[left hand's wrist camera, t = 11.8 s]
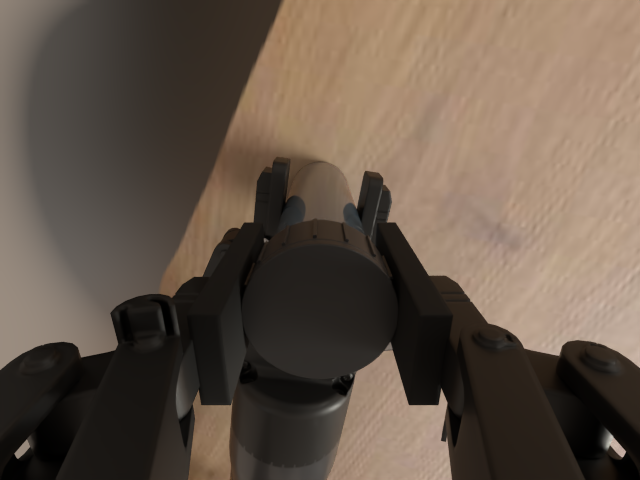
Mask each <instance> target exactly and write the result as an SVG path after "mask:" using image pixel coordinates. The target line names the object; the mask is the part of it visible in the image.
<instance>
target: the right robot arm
mask: <svg viewBox="0 0 640 480" xmlns="http://www.w3.org/2000/svg"><path fill="white" fill-rule="evenodd" d="M289 169H290V159H288V158H281V157H276V159H275V160H274V162H273V167H272V168H271V167H266V168H265V169H264V170H263V171H262V173H261V175H260V177H259V179H258V181H257V190H256V202H255V213H254V223H263V230H264V243H265V242H266V241H267V242H268V241H269V240H270V239H271V238H272V237H274V236H275V233H276V230H277V227H278V224H279V221H280V218H281V215H282V212H283V209H284V206H285V202H286V194H287V185H288V177H289ZM391 203H392V200H391V194H390V191H389V189H388V188H387V187H386V186H385V185H383V178H382V176H381V175H380V174H379V173H376V172H370V171H365V173H364V176H363V181H362V186H361V191H360V196H359V201H358V206H357V212H358V215H359V218H360V221H361V224H362V227H363V230H364V233H365V236H367V235H368V236H369V237H370V239H371V242H372V243H373V244H374V245H375V242H376V227H377V223H387V219H388V216H389V212H390V207H391ZM239 230H240V229H238V228H231V229H229V230H228V231H227V232H226V234H225V235H224V237H223V239H222V241H221V242H220V243H219V244H218V245H217V246H216V248H215V249H214V252H213V254H212V256H211V258H210V261H209V263H208V265H207V268H206V270H205V272H204V275H203V277H211V275H212V273H213V272H214V270H215V269H216V267H217V265H218V264H219V262H220V261H221V259H222V257H223V256H224V254H225V253H226V251H227V249H228V248H229V246H230V245H231V243H232V241H233V240H234V238H235V237H236V235H237V233H238V232H239ZM388 350H393V349H392V345H391V342H390V343H389V345H388V346H387V348H386V349H385V350H384V351H388ZM356 372H357V371H355V372H353V373H350V374H347V375H344V376H340V377H334V378H324V379H316V378H306V377H300V376H296V375H293V374H290V373H287V372H285V371H282V370H280V369H278V368H276V367H275V366H273V365H272V364H270V363H269V362H267V361H266V360H265V359H264V358H263V357H261V356H260V355H259V354H258V352H257V351H256V350H255V349H254V348H253V346H252V345H251V343H250V342H249V345H248V348H247V352H246V355H245V358H244V362H243V365H242V369H241V372H240V375H239V379H238V382H237V386H236V389H235V392H234V396H233V403H232V415H231V428H230V441H229V449H230V461H231V473H230V480H327V478H328V476H329V473H330V471H331V469H332V466H333V464H334V461H335V457H336V453H337V449H338V445H339V441H340V437H341V433H342V429H343V425H344V420H345V416H346V412H347V408H348V404H349V400H350V396H351V392H352V388H353V384H354V379H355V375H356Z"/></svg>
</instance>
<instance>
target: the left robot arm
mask: <svg viewBox="0 0 640 480" xmlns="http://www.w3.org/2000/svg"><path fill="white" fill-rule="evenodd" d="M263 245H264V230H263V223H244V224H243V225H242V227H241V229H240V230H239V232H238V233H237V235H236V237H235V238H234V240H233V241H232V243H231V245H230V246H229V248H228V249H227V251H226V253H225V254H224V256H223V257H222V259H221V261H220V262H219V264H218V265H217V267H216V269H215V270H214V272H213V273H212V275H211V277H193V278H192V279H190V280H189V281H187V282H186V283H184V284H182V286H181V287H180V288H179V290H178V291H177V292H176V295H174V296H173V298H171V297H169V296H166V295H162V294H149V295H143V296H138V297H135V298H132V299H130V300H127V301H125V302H123V303H122V304H120V305H118V306H117V307H116V308H115V309H114V310H113V311H112V312H111V317H112V321H113V325H114V329H115V333H116V336H117V340H118V346H117V348H116V350H115V351H111V352H107V353H102V354H97V355H92V356H87V357H82V358H81V356H80V353H79V350H78V347H76V346H75V345H74V344H73V343H67V342H57V343H49V344H45V345H43V346H42V345H41V346H38V347H35V348H33V349H32V350H30V351H27V352H25V353H23V354H21V355H20V356H18V357H17V358H15V359H14V360H12V361H11V362H10V363H8V364H7V365H6V366H5V367H4V368H2V369H1V370H0V480H188V475H189V466H190V457H191V448H192V440H193V431H194V422H195V416H194V409H193V401H194V399H195V397H196V394H197V392H198V389H199V394H200V400H201V405H231V403H232V399H233V396H234V392H235V389H236V386H237V382H238V379H239V375H240V372H241V369H242V365H243V362H244V358H245V355H246V352H247V348H248V345H249V340H248V338H247V336H246V334H245V331H244V328H243V323H242V313H241V303H242V297H243V294H244V290H245V288H244V287H243V286H244V283H245V281H246V279H247V276H248V274H249V271H250V269H251V267H252V264H253V263H256V260H257V258H258V256H259V254H260V252H261V250H262V248H263ZM375 246H376V248H377V249H378V251H379V252H380V254H381V256H383V255H384V257H385V259H386V261H387V264H388V266H389V269H390V271H391V273H392V276H393V278H394V279H392V280H391V281H392V283H393V286H394V288H395V291H396V294H397V298H398V304H399V311H398V321H397V328H396V331H395V334H394V336H393V338H392V340H391V345H392V349H393V352H394V356H395V359H396V363H397V366H398V369H399V373H400V376H401V380H402V383H403V386H404V390H405V393H406V397H407V400H408V403H409V405H438V404H439V398H440V392H441V388H442V391H443V393H444V395H445V398H446V400H447V402H448V404H447V409H446V415H445V421H444V426H443V432H442V438H441V441H445V442H446V438H447V439H448V448H449V456H450V465H451V474H452V480H640V368H639V367H638V366H637V365H635V364H634V363H633V362H632V361H630V360H629V359H628V358H626V357H625V356H623V355H622V354H620V353H619V352H617V351H615V350H612V349H610V348H608V347H606V346H604V345H601V344H596V343H594V342H589V341H579V340H576V341H569V342H567V343H565V344H564V345H563V346H562V349H561V352H560V355H559V356H556V355H551V354H546V353H541V352H536V351H531V350H528V349H524V348H523V345H522V343H521V342H520V341H519V340H518V338H517V337H516V336H515V335H513V334H512V333H510V332H509V331H508V330H506V329H503V328H501V327H499V326H496V325H492V324H488V323H487V321H486V320H485V319H484V317H483V316H482V315H481V314H480V312H479V311H478V310H477V308H476V307H475V306H474V304H473V303H472V302H470V299H469V298H468V296H467V295H466V294H464V291H463V290H462V288H461V287H460V286H459V285H458V283H456V282H455V281H453V280H451V279H450V278H448V277H447V276H429V275H428V274H427V272H426V271H425V269H424V267H423V266H422V264H421V263H420V261H419V259H418V258H417V256H416V255H415V253H414V251H413V250H412V248H411V247H410V245H409V243H408V242H407V240H406V239H405V237H404V235H403V234H402V232H401V231H400V229H399V227H398V226H397V224H396V223H377V227H376V242H375ZM613 437H614V438H615V439H616V440H617V442H618V443H619V444H620V445H621V446H622V447H623V448H624V450H625V451H626V453H625V455H624V457H623V458H622V457H621V456H619V455H618V454H617V453H616V452H615V451H614V449H613V448H612V447H611V446H610V444H611V442H612V439H613ZM26 439H27V440H28V442H29V445H30V448H29V449H28V450H27V451H26V452H25V454H24V455H22V456H21V457H20V458H19V459H17V458H16V456H15V454H14V453H15V452H16V451H17V450H18V449H19V447H20V446H21V445H22V444H23V443H24V442H25V441H26Z"/></svg>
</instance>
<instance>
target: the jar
mask: <svg viewBox="0 0 640 480" xmlns="http://www.w3.org/2000/svg"><path fill="white" fill-rule="evenodd" d="M315 218H317V220H330V221H335V222H340V223H342V222H345V223H346V225H348V226H351V227H353V228H355V229H356V230H358V231H360V232H361V233H363V234H364V235H365V233H364V230H363V227H362V224H361V221H360V218H359V215H358V212H357V209H356V206H355V203H354V200H353V197H352V194H351V192H350V189H349V186H348V183H347V180H346V178H345V176H344V174H343V173H342V172H341V170H339V169H338V168H337V167H336V166H334V165H332V164H329V163H326V162H314V163H311V164H308V165H306V166H304V167H303V168H302V169H301V170H300V171H299V172H298V173H297V174H296V176H295V178H294V180H293V183H292V186H291V189H290V192H289V195H288V197H287V200H286V203H285V206H284V209H283V212H282V215H281V218H280V221H279V224H278V227H277V230H276V233H275V235H276V234H277V233H279V232H280V231H282V230H283V229H285V228H286V226H287V225H289V226H292V225H294V224H297V223H300V222H305V221H310V220H314V219H315Z"/></svg>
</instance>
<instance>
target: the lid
mask: <svg viewBox="0 0 640 480" xmlns="http://www.w3.org/2000/svg"><path fill="white" fill-rule="evenodd" d="M392 279H394V278H393V276H392V273H391V271H390V269H389V266H388V264H387V261H386V259H385V257H384V255H383V256H381V254H380V252H379V251H378V249H377V248H376V246H375V245H374V244H373V243H372V242H371V239H370V237H369V236H368V235H367V236H365V235H364V234H363V233H361V232H360V231H358V230H356V229H355V228H353V227H351V226H348V225H346V223H345V222H342V223H340V222H335V221H330V220H317V218H315V219H314V220H310V221H305V222H300V223H297V224H294V225H292V226H289V225H287V226H286V228H285V229H283V230H282V231H280V232H279V233H277V234H276V235H275V236H274V237H272V238H271V239H270V240H269V241H268V242H267V241H266V242H265V243H264V245H263V248H262V250H261V252H260V254H259V256H258V258H257V260H256V263H253V264H252V267H251V269H250V271H249V274H248V276H247V279H246V281H245V283H244V286H243V287H244V288H245V290H244V294H243V297H242V303H241V313H242V323H243V328H244V331H245V334H246V336H247V338H248V340H249V342H250V343H251V345H252V346H253V348H254V349H255V350H256V351H257V352H258V354H259V355H260V356H261V357H263V358H264V359H265V360H266V361H267V362H269V363H270V364H272V365H273V366H275V367H276V368H278V369H280V370H282V371H285V372H287V373H290V374H293V375H296V376H300V377H306V378H316V379H324V378H334V377H340V376H344V375H347V374H350V373H353V372H355V371H358V370H360V369H362V368H364V367H365V366H367V365H368V364H370V363H371V362H373V361H374V360H375V359H376V358H377V357H379V356H380V355H381V353H382V352H383V351H384V350H385V349H386V348H387V346H388V345H389V343H390V342H391V340H392V338H393V336H394V334H395V331H396V328H397V321H398V311H399V304H398V298H397V294H396V291H395V288H394V286H393V283H392V281H391V280H392Z"/></svg>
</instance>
